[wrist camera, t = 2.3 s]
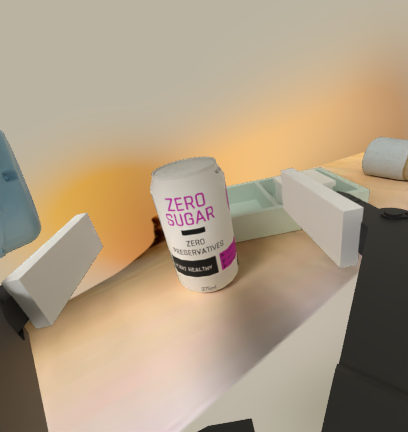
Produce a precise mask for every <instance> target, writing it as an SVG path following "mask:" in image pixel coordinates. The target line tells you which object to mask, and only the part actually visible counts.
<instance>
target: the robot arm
mask: <svg viewBox="0 0 408 432" xmlns="http://www.w3.org/2000/svg"><path fill="white" fill-rule="evenodd" d="M281 182H282V198H283V209H284V210H285V211H286V212H287V213H288V214H289V215H290V216H291V217H292V218H293V220H294V221H295V222H296V223H297V224H298V225H299V226H300V227H301V228H302V229H303V230H304V231H305V232H306V233H307V234H308V235H309V236H310V237H311V238H312V239H313V241H314V242H315V243H316V244H317V245H318V246H319V247H320V248H321V249H322V250H323V251H324V252H325V253H326V254H327V255H328V256H329V257H330V258H331V259H332V260H333V262H334V263H335V264H336V265H337V266H338V267H339V268H344V267H349V266H354V265H358V257H359V253H360V254H361V255H362V260H361V265H360V269H359V274H358V279H357V283H356V288H355V292H354V297H353V302H352V306H351V311H350V316H349V320H348V325H347V330H346V334H345V339H344V344H343V349H342V353H341V358H340V361H339V364H337V366H336V369H335V374H334V378H333V382H332V386H331V391H330V396H329V400H328V404H327V409H326V414H325V418H324V423H323V427H322V431H321V432H408V211H407V210H403V209H398V208H381V209H378V208H376V207H374V206H372V205H370V204H368V203H367V202H365V201H362V200H361V199H359V198H356V197H355V196H353V195H351V194H349V193H345V192H341V191H336V192H335V191H333V190H331V189H330V188H328V187H326V186H324V185H322V184H320V183H319V182H317V181H315V180H313V179H311V178H310V177H308V176H306V175H304V174H302V173H301V172H299V171H297V170H295V169H293V168H291V169H285V170H281ZM40 231H41V223H40V220H39V216H38V214H37V211H36V208H35V205H34V202H33V200H32V197H31V195H30V192H29V189H28V187H27V184H26V182H25V179H24V177H23V175H22V172H21V170H20V167H19V165H18V163H17V160H16V158H15V156H14V153H13V151H12V149H11V147H10V145H9V143H8V141H7V139H6V137H5V135H4V133H3V132H2V131H1V130H0V258H2V257H3V256H5V255H6V253H9V252H11V251H13V250H15V249H17V248H20V247H22V246H24V245H26V244H29V243H31V242H32V241H34V240H35V239H36V238H37V236H38V235H39V234H40ZM102 247H103V245H102V243H101V241H100V239H99V237H98V235H97V233H96V230H95V229H94V226H93V224H92V222H91V220H90V218H89V216H88V214H87V213H84V214H79V215H76V216H75V217H73V219H71V220H70V221H69V222H68V223H67V224H66V225H65V226H64V227H62V228H61V229H60V230H59V231H58V232H57V233H56V234H55V235H54V236H53V237H51V238H50V239H49V240H48V241H47V242H46V243H45V244H44V245H43V246H41V247H40V248H39V249H38V250H37V251H36V252H35V253H34V254H33V255H31V256H30V257H29V258H28V259H27V260H26V261H25V262H24V263H23V264H21V265H20V266H19V267H18V268H17V269H16V270H15V271H14V272H13V273H11V275H9V276H8V277H7V278H6V279H5V280H4V281H3V282H2V283H1V284H2V285H1V286H0V432H48V428H47V423H46V418H45V413H44V408H43V403H42V398H41V393H40V388H39V384H38V379H37V374H36V369H35V364H34V359H33V354H32V349H31V344H30V339H29V334H28V332H27V331H26V329H25V328H24V325H25V324H26V323H27V322H28V320H30V321H31V323H32V324H33V325H34V327H35V328H36V329H37V328H42V327H47V326H52V325H53V323H54V322H55V320H56V319H57V317H58V316H59V314H60V313H61V311H62V309H63V308H64V306H65V305H66V303H67V302H68V300H69V299H70V297H71V296H72V294H73V292H74V291H75V289H76V288H77V286H78V285H79V283H80V281H81V280H82V279H83V277H84V276H85V274H86V272H87V271H88V269H89V268H90V266H91V265H92V263H93V262H94V260H95V259H96V257H97V255H98V254H99V252H100V251H101V249H102ZM198 432H255V431H254V427H253V423H252V419H246V420H240V421H234V422H229V423H223V424H217V425H211V426H207V427H206V428H204V429H202V430H200V431H198Z"/></svg>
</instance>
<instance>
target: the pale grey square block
mask: <svg viewBox="0 0 408 432" xmlns="http://www.w3.org/2000/svg"><path fill="white" fill-rule="evenodd" d="M301 173H302V174H304V175H306V176H308V177H310V178H311V179H313V180H315V181H317V182H319V183H320V184H322V185H324V186H326V187H328V188H330V189H331V190H333V186H336V181H335V180H333V179H331V178H329V177H327V176H325V175H323V174H321V173H319V172H317V171H315V170H313V169H311V170H306V171H301ZM273 182H274V183H275V188H276V201H277V202H278V203H279V204H280V205H283V198H282V182H281V176H277V177H273Z"/></svg>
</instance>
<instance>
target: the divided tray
mask: <svg viewBox="0 0 408 432" xmlns="http://www.w3.org/2000/svg"><path fill="white" fill-rule="evenodd" d="M309 170H311V169H309ZM313 170H315V171H317V172H319V173H321V174H323V175H325V176H327V177H329V178H331V179H333V180H335V181H336V186H333V191H335V192H336V191H341V192H345V193H349V194H351V195H353V196H355V197H356V198H359V199H361V200H362V201H365V202H367V203H368V200H369V193H370V190H369V189H367V188H364V187H362V186H360V185H358V184H356V183H354V182H352V181H349V180H347V179H345V178H343V177H341V176H339V175H336V174H334V173H332V172H330V171H328V170H326V169H323V168H321V167H319V168H314V169H313ZM304 171H306V170H304ZM300 172H301V171H300ZM280 176H281V175H280ZM276 177H277V176H276ZM226 189H227V196H228V202H229V208H230V214H231V220H232V227H233V233H234V239H235V243H236V242H241V241H246V240H251V239H256V238H261V237H266V236H271V235H276V234H281V233H287V232H292V231H297V230H302V228H301V227H300V226H299V225H298V224H297V223H296V222H295V221H294V220H293V218H292V217H291V216H290V215H289V214H288V213H287V212H286V211H285V210H284V209H283V205H280V204H279V203H278V202H277V201H276V188H275V183H274V182H273V177H271V178H266V179H261V180H256V181H251V182H246V183H242V184H237V185H232V186H227V187H226Z"/></svg>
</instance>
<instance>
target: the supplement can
mask: <svg viewBox="0 0 408 432" xmlns="http://www.w3.org/2000/svg"><path fill="white" fill-rule="evenodd" d="M150 192H151V195H152V198H153V201H154V204H155V207H156V210H157V213H158V217H159V220H160V223H161V226H162V229H163V232H164V235H165V238H166V241H167V245H168V248H169V251H170V254H171V257H172V260H173V263H174V266H175V269H176V273H177V276H178V279H179V281H180V282H181V284H182V286H184V287H185V288H187V289H189V290H190V291H195V292H201V293H208V292H214V291H217V290H219V289H222V288H224V287H225V286H226V285H228V284H229V283H230V282H231V281H233V279H234V278H235V276H236V275H237V273H238V267H239V264H238V258H237V251H236V245H235V239H234V233H233V227H232V220H231V214H230V208H229V202H228V196H227V189H226V184H225V178H224V173H223V171H222V170H221V169H220V167H219V166H218V165H217V163H216V160H215V159H214V158H212V157H194V158H188V159H183V160H179V161H175V162H172V163H169V164H166V165H163V166H161V167H159V168H157V169H156V170H154V171H153V172H152V182H151V187H150Z"/></svg>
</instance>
